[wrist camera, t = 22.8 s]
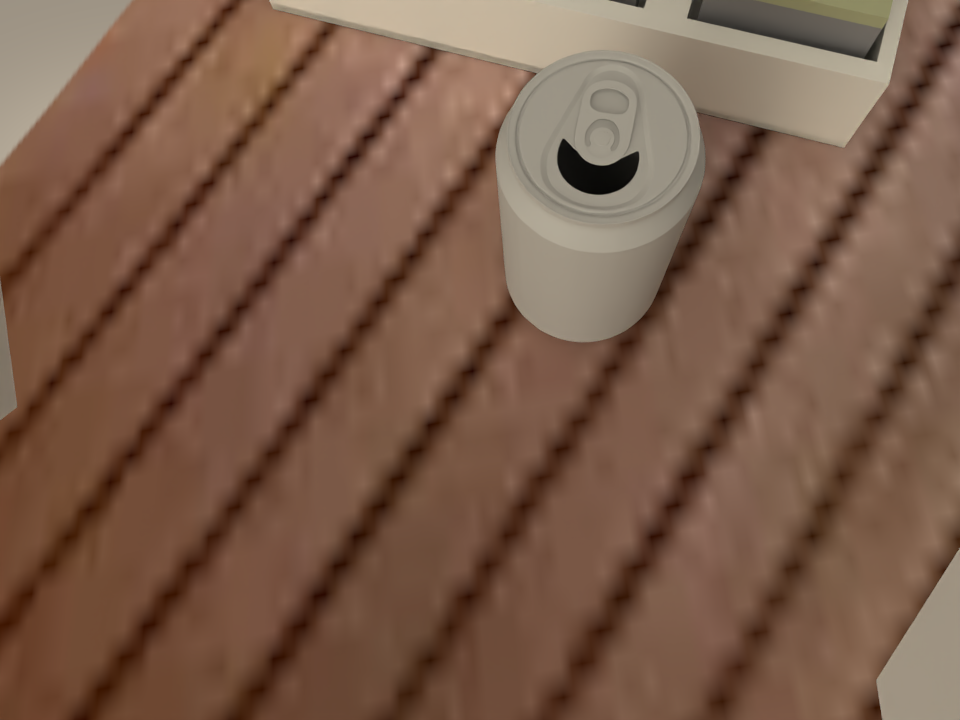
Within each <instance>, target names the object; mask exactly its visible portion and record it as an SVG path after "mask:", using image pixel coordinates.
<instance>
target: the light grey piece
mask: <svg viewBox="0 0 960 720" xmlns="http://www.w3.org/2000/svg"><path fill="white" fill-rule="evenodd" d="M269 1H270V3H271V5H272V8H273V9H275V10H279V11H283V12H287V13H291V14H296V15H300V16H304V17H308V18H312V19H316V20H320V21H324V22H328V23H333V24H337V25H341V26H345V27H349V28H353V29H357V30H361V31H365V32H370V33H374V34H378V35H382V36H386V37H390V38H394V39H398V40H402V41H407V42H411V43H415V44H419V45H423V46H427V47H431V48H435V49H439V50H444V51H448V52H452V53H456V54H460V55H464V56H468V57H472V58H476V59H481V60H485V61H489V62H493V63H497V64H501V65H505V66H509V67H513V68H518V69H522V70H526V71H530V72H534V73H539V72H540V71H541V70H543V69H544V68H546V67H547V66H549V65H550V64H552V63H554V62H556V61H558V60H560V59H562V58H565V57H567V56H570V55H573V54H577V53H581V52H586V51H595V50H611V51H621V52H626V53H630V54H634V55H637V56H640V57H642V58H645V59H647V60H649V61H651V62H653V63H655V64H656V65H658V66H660V67H661V68H663V69H664V70H665V71H667V72H668V73H669V74H670V75H672V76H673V77H674V78H675V79H676V80H677V81H678V82H679V84H680V85H681V86H682V87H683V88H684V90H685V91H686V92H687V94H688V96H689V97H690V99H691V101H692V103H693V105H694V108H695V110H696V112H698V113H703V114H707V115H711V116H715V117H719V118H723V119H727V120H731V121H736V122H740V123H744V124H748V125H752V126H756V127H760V128H764V129H768V130H773V131H777V132H781V133H785V134H789V135H793V136H797V137H801V138H805V139H810V140H814V141H818V142H822V143H826V144H830V145H834V146H838V147H842V148H844V147H845V146H846V144H847V143H848V142H849V140H850V139H851V137H852V136H853V134H854V133H855V132H856V130H857V129H858V127H859V126H860V125H861V123H862V122H863V120H864V119H865V117H866V116H867V115H868V113H869V112H870V110H871V109H872V108H873V106H874V105H875V103H876V102H877V101H878V99H879V98H880V96H881V95H882V93H883V92H884V91H885V89H886V88H887V86H888V85H889V82H890V78H891V74H892V69H893V65H894V61H895V56H896V52H897V47H898V43H899V39H900V34H901V30H902V26H903V21H904V17H905V13H906V8H907V4H908V0H893V2H892V6H891V10H890V15H889V19H888V20H887V22H886V24H885V25H884V27H883V28H882V30H881V32H880V33H879V35H878V36H877V38H876V40H875V41H874V43H873V44H872V46H871V48H870V49H869V51H868V52H867V54H866V56H865V57H864V59H862V58H857V57H853V56H849V55H844V54H840V53H836V52H831V51H827V50H823V49H818V48H814V47H810V46H805V45H801V44H796V43H792V42H788V41H783V40H779V39H775V38H770V37H766V36H762V35H757V34H753V33H749V32H744V31H740V30H736V29H731V28H727V27H722V26H718V25H714V24H709V23H705V22H701V21H697V19H698V16H699V12H700V9H701V5H702V2H703V0H639V4H638V7H635V6H631V5H627V4H622V3H618V2H614V1H609V0H269Z"/></svg>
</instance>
